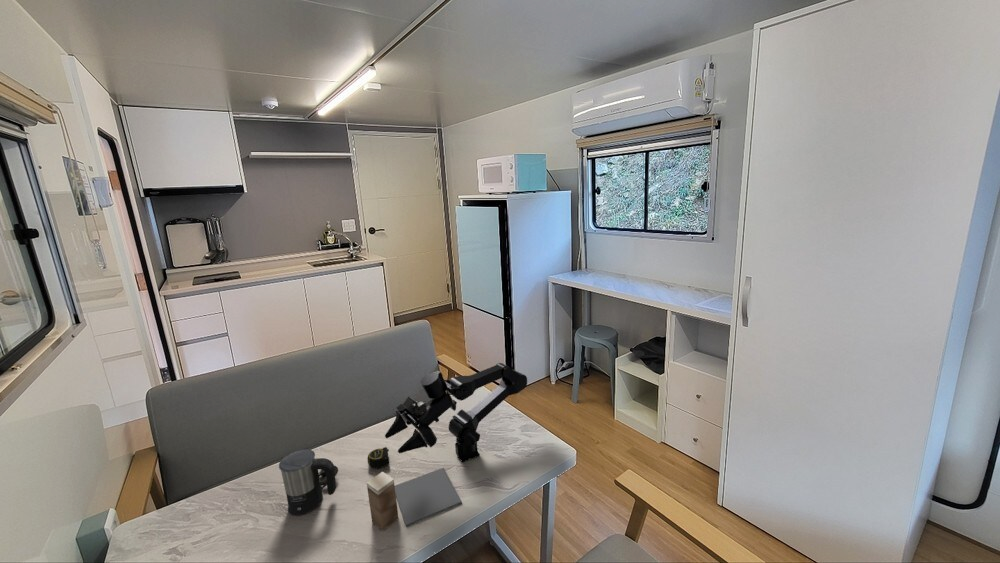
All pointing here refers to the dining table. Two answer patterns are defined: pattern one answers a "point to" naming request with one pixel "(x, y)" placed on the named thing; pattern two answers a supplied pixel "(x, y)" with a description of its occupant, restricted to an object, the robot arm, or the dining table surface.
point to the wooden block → (382, 500)
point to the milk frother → (306, 480)
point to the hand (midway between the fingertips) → (391, 444)
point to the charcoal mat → (426, 496)
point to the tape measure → (378, 458)
